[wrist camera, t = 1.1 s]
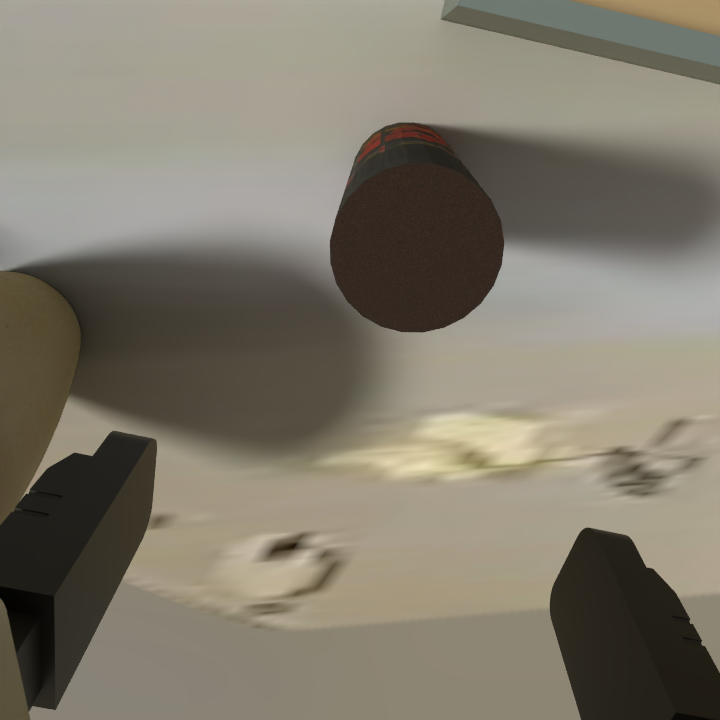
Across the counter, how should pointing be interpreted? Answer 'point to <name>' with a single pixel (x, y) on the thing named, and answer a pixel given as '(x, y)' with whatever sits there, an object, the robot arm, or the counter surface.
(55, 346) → the plant pot
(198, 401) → the counter surface
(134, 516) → the robot arm
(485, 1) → the bin
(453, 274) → the deodorant
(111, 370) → the counter surface
